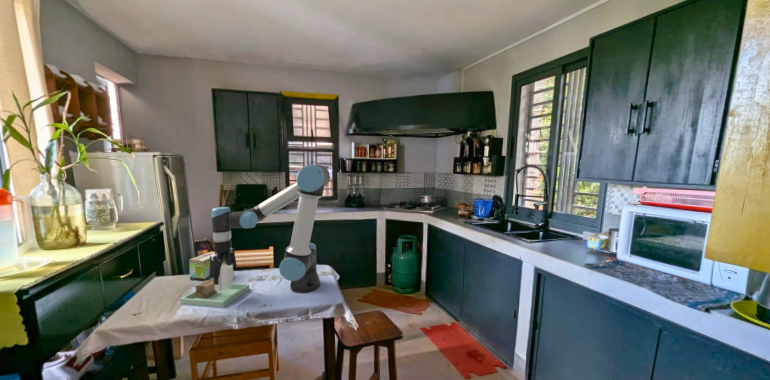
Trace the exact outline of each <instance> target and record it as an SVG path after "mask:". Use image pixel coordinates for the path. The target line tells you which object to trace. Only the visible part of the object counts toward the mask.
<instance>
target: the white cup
mask: <svg viewBox="0 0 770 380" xmlns="http://www.w3.org/2000/svg"><path fill="white" fill-rule="evenodd" d="M233 265H234V264H233ZM233 265H232V264H231V265H230V266H228V265H226V264H223V265H222V266H221V270H220V275H219V277H221V290H226V289H229V288H231V287H232V286H233V284H234V275H233V273H234V270H233ZM216 275H217V274H216Z"/></svg>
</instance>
